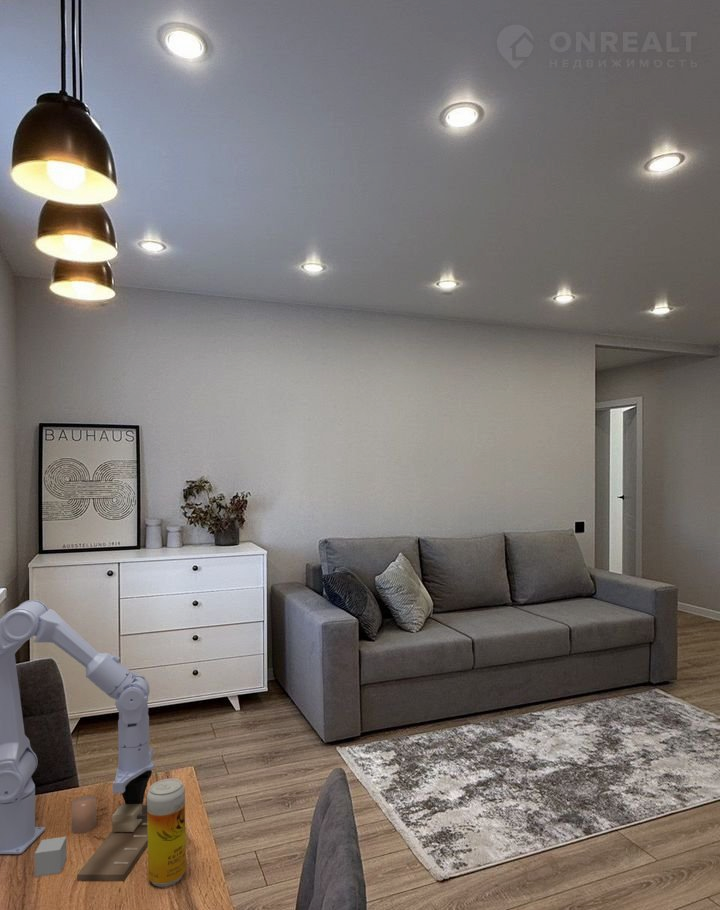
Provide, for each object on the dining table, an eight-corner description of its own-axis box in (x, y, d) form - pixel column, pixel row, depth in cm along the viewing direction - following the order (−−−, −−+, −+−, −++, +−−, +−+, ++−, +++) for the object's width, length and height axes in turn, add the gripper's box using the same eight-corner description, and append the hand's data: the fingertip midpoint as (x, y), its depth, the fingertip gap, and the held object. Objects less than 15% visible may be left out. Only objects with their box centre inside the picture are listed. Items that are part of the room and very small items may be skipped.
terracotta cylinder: (67, 833, 116) (66, 807, 116) (78, 821, 121) (78, 795, 121) (89, 833, 116) (89, 806, 116) (100, 821, 120) (100, 795, 121)
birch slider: (112, 831, 114) (112, 815, 114) (121, 819, 118) (121, 804, 118) (142, 831, 114) (142, 815, 114) (150, 819, 118) (150, 804, 118)
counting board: (77, 880, 102) (77, 873, 102) (132, 810, 124) (132, 804, 124) (123, 880, 102) (123, 874, 102) (170, 810, 124) (170, 804, 124)
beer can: (174, 890, 99) (173, 796, 100) (140, 886, 100) (139, 793, 101) (192, 867, 105) (191, 778, 105) (160, 864, 106) (158, 776, 107)
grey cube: (34, 877, 103) (34, 853, 104) (42, 863, 107) (41, 839, 108) (60, 873, 104) (60, 849, 104) (66, 859, 108) (66, 836, 108)
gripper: (138, 758, 113) (139, 833, 112) (167, 726, 127) (167, 793, 126) (101, 758, 113) (102, 833, 112) (133, 727, 127) (134, 793, 127)
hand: (134, 812), depth 119 cm, fingers closed
